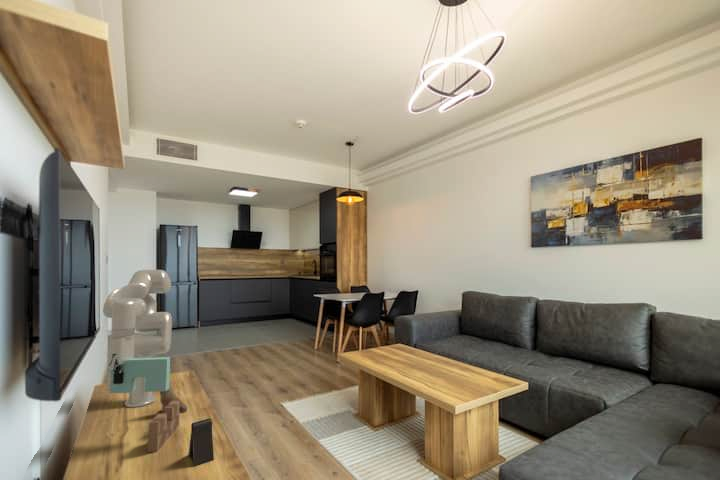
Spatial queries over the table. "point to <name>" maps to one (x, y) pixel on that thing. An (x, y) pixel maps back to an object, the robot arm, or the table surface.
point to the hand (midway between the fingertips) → (121, 381)
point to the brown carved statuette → (168, 397)
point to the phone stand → (201, 442)
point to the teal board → (143, 375)
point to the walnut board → (163, 426)
